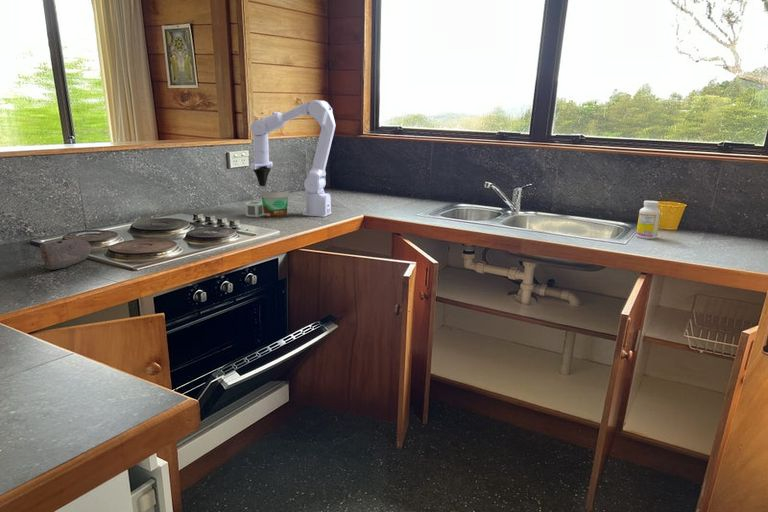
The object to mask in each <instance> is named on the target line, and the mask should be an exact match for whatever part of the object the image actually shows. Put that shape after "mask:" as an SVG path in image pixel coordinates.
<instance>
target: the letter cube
mask: <svg viewBox="0 0 768 512" xmlns="http://www.w3.org/2000/svg"><path fill="white" fill-rule="evenodd" d="M244 206H245V217H252V218H253V217H254V218H259V217H262V216H264V211H263V203H262V201H260V202H259V201H250V202H245V204H244Z"/></svg>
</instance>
